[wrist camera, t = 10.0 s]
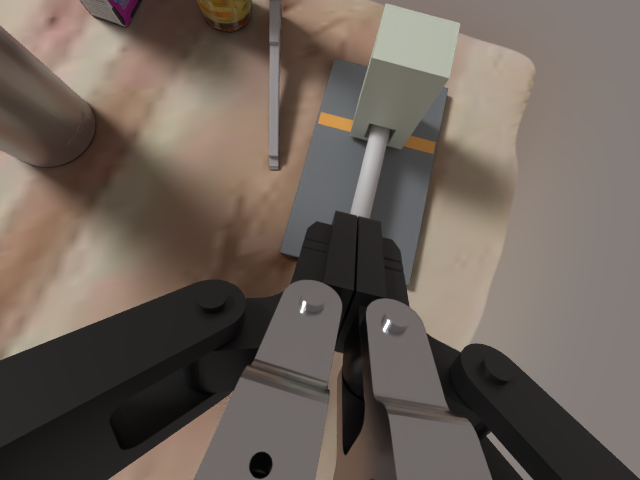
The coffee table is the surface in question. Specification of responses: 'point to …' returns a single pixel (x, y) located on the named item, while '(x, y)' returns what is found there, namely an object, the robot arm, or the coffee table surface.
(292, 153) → the coffee table surface
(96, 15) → the candy bar box
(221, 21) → the sauce bottle
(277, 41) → the caliper
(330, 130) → the pipe rig
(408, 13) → the sage green block
